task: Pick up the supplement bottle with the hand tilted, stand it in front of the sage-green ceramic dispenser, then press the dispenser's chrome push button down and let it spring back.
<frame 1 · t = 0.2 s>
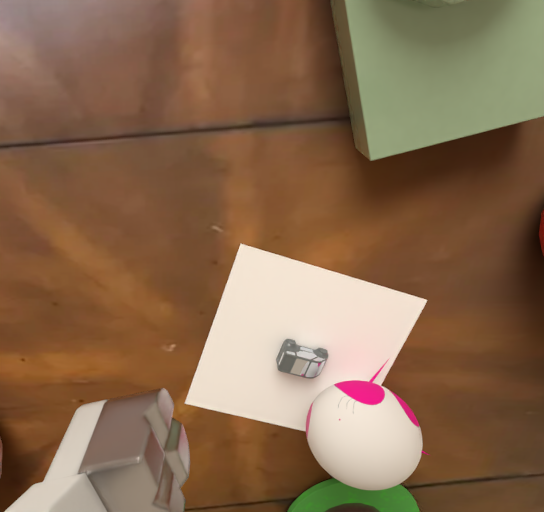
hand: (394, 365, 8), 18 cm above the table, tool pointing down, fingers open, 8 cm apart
thin white square mat: (301, 351, 29), on the table, touching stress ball
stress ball: (358, 392, 31), on the table, touching thin white square mat
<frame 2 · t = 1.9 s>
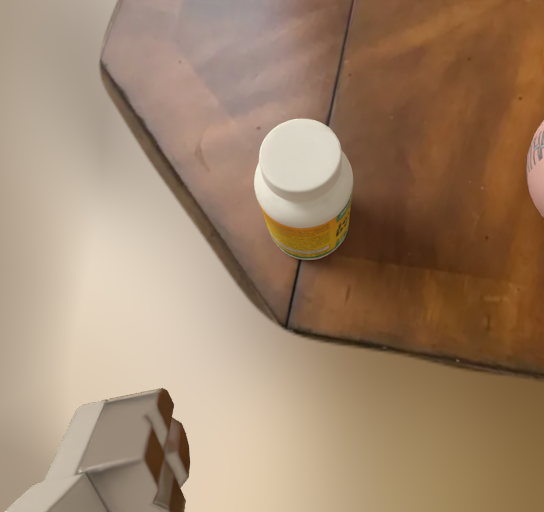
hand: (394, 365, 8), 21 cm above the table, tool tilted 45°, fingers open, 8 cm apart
supplement bottle: (308, 225, 31), on the table
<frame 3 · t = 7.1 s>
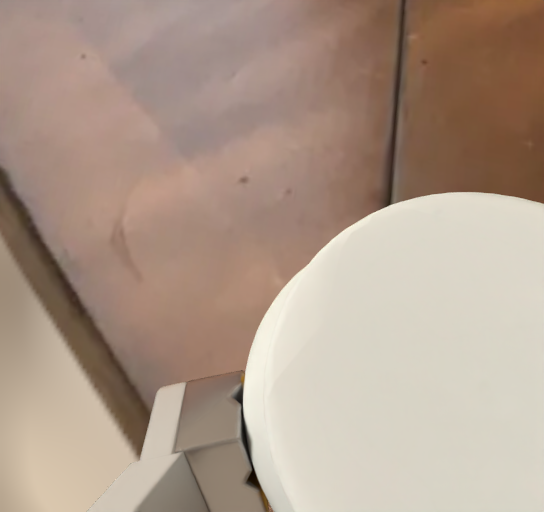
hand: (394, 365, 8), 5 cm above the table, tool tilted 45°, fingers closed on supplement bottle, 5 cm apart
supplement bottle: (376, 408, 13), on the table, touching gripper
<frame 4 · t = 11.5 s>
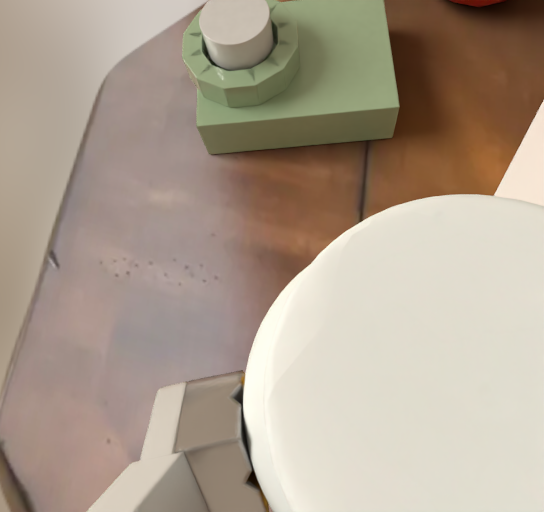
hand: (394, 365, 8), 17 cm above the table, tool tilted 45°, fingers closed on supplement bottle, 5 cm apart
supplement bottle: (376, 409, 13), point 12 cm above the table, touching gripper
dispenser: (295, 90, 32), on the table
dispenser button: (237, 30, 27), point 6 cm above the table, slide at 0.1 cm
when the fingers open (5 cm above the table, at t = 16.1 s): supplement bottle stays where it is, on the table.
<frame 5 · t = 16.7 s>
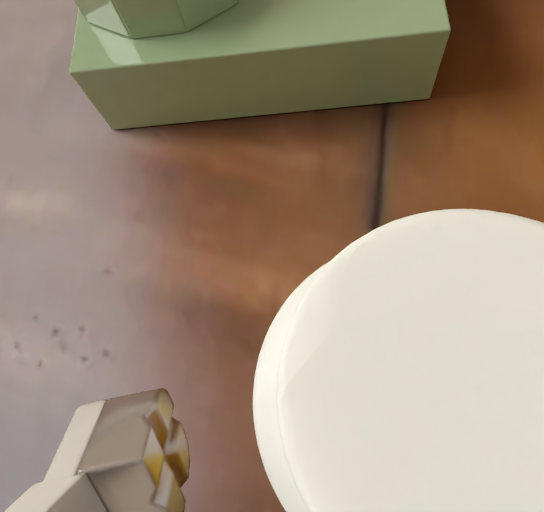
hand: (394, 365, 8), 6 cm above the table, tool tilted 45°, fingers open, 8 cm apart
supplement bottle: (378, 408, 14), on the table
dispenser: (262, 22, 19), on the table
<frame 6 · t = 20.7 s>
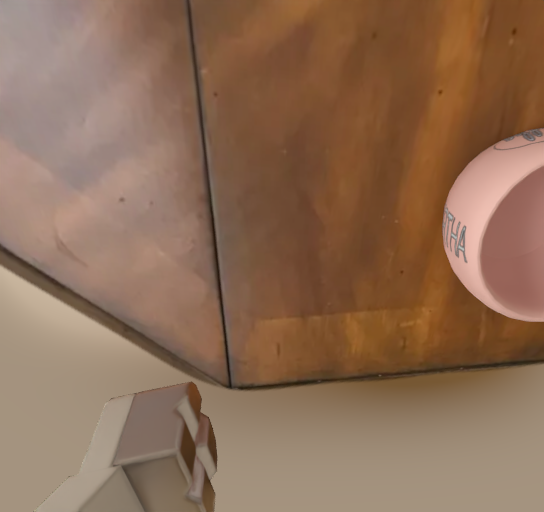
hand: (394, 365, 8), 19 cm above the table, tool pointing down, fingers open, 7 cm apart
mug: (520, 199, 28), on the table
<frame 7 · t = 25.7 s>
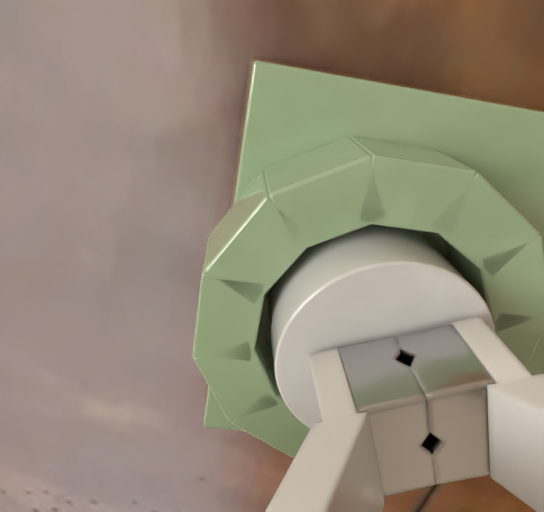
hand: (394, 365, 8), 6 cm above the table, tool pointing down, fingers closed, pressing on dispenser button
dispenser: (425, 252, 14), on the table
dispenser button: (371, 331, 9), point 5 cm above the table, slide at -0.7 cm, touching gripper
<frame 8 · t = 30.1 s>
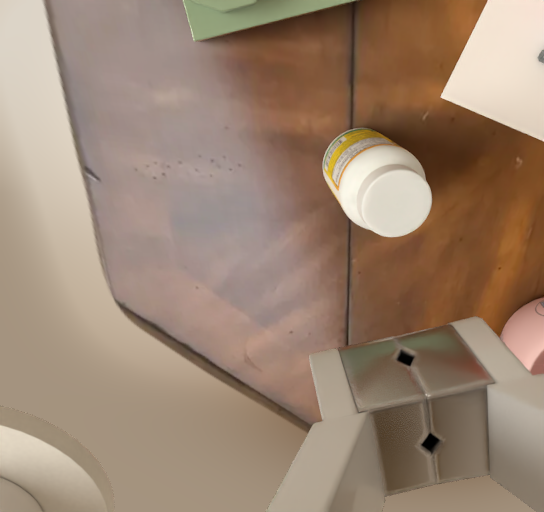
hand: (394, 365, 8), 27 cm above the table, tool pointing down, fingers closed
supplement bottle: (356, 163, 34), on the table
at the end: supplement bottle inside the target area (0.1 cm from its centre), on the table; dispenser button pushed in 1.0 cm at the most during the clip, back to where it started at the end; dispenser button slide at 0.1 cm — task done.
